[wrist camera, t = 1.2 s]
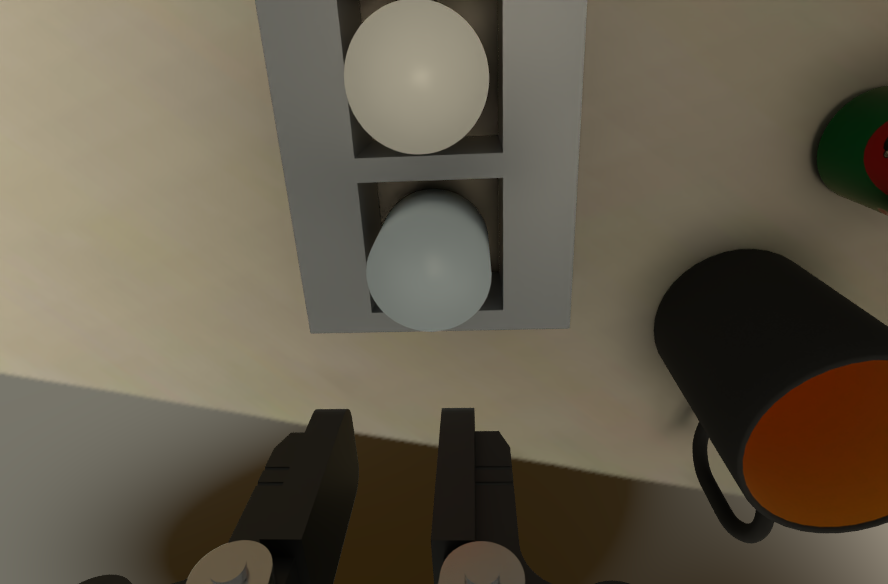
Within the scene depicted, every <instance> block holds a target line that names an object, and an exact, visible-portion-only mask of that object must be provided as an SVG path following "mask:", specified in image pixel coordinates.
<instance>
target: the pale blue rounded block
mask: <svg viewBox="0 0 888 584" xmlns="http://www.w3.org/2000/svg"><path fill="white" fill-rule="evenodd" d="M491 275H492V274H491V263H490V251H489V239H488V231H487V227H486V224H485V221H484V219H483V217H482V216H481V214H480V213H479V211H478V210H477V209H476V207H475V206H474V205H473V204H472V203H470V202H469V201H468V200H467V199H465V198H464V197H462V196H460V195H458V194H456V193H454V192H450V191H447V190H441V189H427V190H421V191H417V192H415V193H412V194H410V195H408V196H406V197H405V198H403V199H402V200H400V201H399V202H398V203H397V204H396V205H395V206H394V207H393V208H392V210H391V211H390V212H389V214H388V216H387V218H386V220H385V222H384V224H383V226H382V228H381V230H380V232H379V234H378V236H377V238H376V240H375V242H374V244H373V246H372V249H371V251H370V254H369V256H368V260H367V267H366V278H367V283H368V287H369V290H370V293H371V295H372V297H373V299H374V301H375V302H376V304H377V305H378V307H379V308H380V309H381V310H382V311H383V312H384V313H385V314H386V315H387V316H388V317H389V318H391V319H392V320H394V321H395V322H397V323H399V324H401V325H403V326H405V327H408V328H411V329H414V330H419V331H429V332H434V331H442V330H447V329H451V328H454V327H456V326H458V325H460V324H462V323H464V322H466V321H467V320H469V319H470V318H471V317H472V316H474V315H475V314H476V312H477V311H478V310H479V309H480V308H481V306H482V305H483V304H484V302H485V300H486V298H487V296H488V293H489V290H490V285H491Z"/></svg>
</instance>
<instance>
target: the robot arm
mask: <svg viewBox="0 0 888 584" xmlns="http://www.w3.org/2000/svg"><path fill="white" fill-rule="evenodd" d="M358 477H359V467H358V457H357V451H356V444H355V437H354V429H353V422H352V416H351V412H350V410H349V409H316V410H315V411H314V412H313V414H312V417H311V419H310V421H309V424H308V426H307V428H306V431H305V433H290V434H289V435H288V436H287V437H286V438H285V439H284V440H283V441H282V442H281V443H280V444H278V445H277V446H276V447H275V448H274V450H273V452H272V454H271V456H270V458H269V460H268V462H267V464H266V466H265V470H264V471H263V472H262V475H261V476H260V479H259V481H258V486H256V487H255V489H254V491H253V493H252V495H251V497H250V499H249V501H248V503H247V505H246V508H245V509H244V511H243V514H242V516H241V518H240V520H239V522H238V524H237V526H236V528H235V530H234V532H233V534H232V536H231V538H230V540H229V542H228V543H227V544H224V545H222V546H220V547H218V548H216V549H214V550H213V551H211V552H210V553H208V554H207V555H206V556H205V557H203V558H202V559H201V560H200V561H199V562H198V563H197V564H196V566H195V567H194V568H193V570H192V571H191V573H190V575H189V577H188V578H187V579H185V580H183V581H180V582H177V583H174V584H333V582H334V578H335V574H336V571H337V566H338V563H339V559H340V555H341V551H342V547H343V543H344V539H345V535H346V531H347V527H348V523H349V520H350V516H351V512H352V508H353V504H354V500H355V496H356V492H357V487H358ZM431 534H432V535H431V548H432V560H433V573H434V584H551V583H549V582H547V581H545V580H543V579H542V578H541V577H539V576H538V575H536V574H535V573H534V572H533V571H532V570H531V569H530V568H529V566H528V565H527V564H526V562H525V560H524V558H523V556H522V554H521V551H520V546H519V539H518V528H517V516H516V506H515V495H514V486H513V474H512V464H511V453H510V447H509V445H508V444H507V442H506V441H505V439H504V438H503V437H502V435H501V434H500V432H499V431H475V414H474V408H442V412H441V423H440V436H439V448H438V460H437V474H436V484H435V498H434V510H433V521H432V533H431ZM79 584H132V583H131V582H130V581H129V580H128V579H127V578H125V577H123V576H119V575H102V576H98V577H94V578H91V579H88V580H86V581H84V582H81V583H79ZM596 584H629V583H625V582H621V581H603V582H598V583H596Z"/></svg>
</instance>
